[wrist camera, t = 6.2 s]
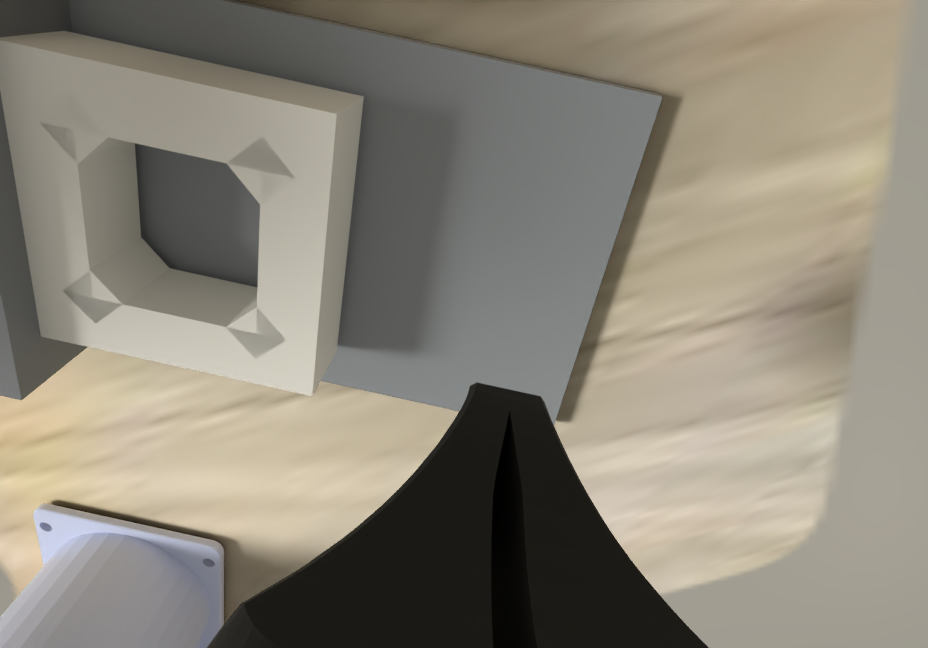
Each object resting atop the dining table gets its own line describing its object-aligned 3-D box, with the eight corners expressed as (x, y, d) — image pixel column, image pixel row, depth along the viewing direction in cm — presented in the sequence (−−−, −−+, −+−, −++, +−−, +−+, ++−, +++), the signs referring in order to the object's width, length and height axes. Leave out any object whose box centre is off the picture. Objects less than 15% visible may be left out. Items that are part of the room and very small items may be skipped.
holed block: (336, 351, 20) (312, 396, 18) (94, 298, 20) (41, 336, 18) (363, 96, 16) (336, 113, 14) (64, 30, 16) (-9, 38, 14)
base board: (551, 421, 22) (554, 517, 18) (72, 315, 22) (-30, 389, 18) (658, 93, 16) (696, 128, 13) (24, -46, 16) (-137, -54, 13)
